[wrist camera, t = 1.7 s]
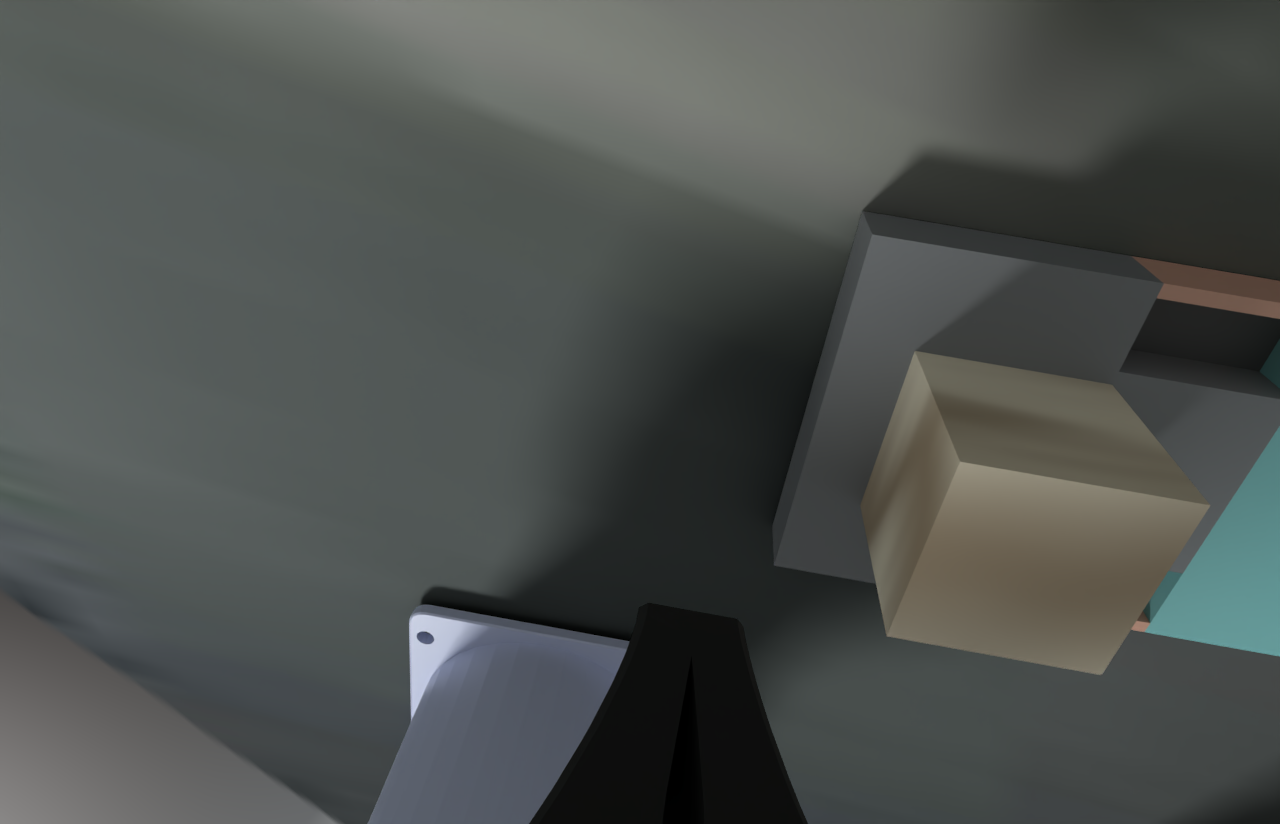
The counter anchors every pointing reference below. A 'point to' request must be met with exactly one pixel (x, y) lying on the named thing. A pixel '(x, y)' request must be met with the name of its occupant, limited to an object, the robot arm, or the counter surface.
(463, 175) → the counter surface
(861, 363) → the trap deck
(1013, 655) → the maple block
